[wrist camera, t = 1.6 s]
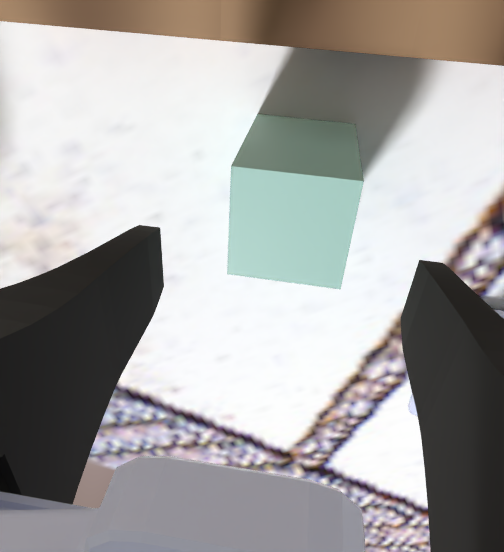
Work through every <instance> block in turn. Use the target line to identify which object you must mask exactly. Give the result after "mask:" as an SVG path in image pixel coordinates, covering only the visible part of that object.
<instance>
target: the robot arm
mask: <svg viewBox="0 0 504 552" xmlns="http://www.w3.org/2000/svg"><path fill="white" fill-rule="evenodd" d="M163 287H164V282H163V266H162V251H161V235H160V228H158V227H150V226H142V225H139V226H136V227H134V228H132V229H130V230H128V231H126V232H124V233H122V234H121V235H119V236H117V237H115V238H114V239H112V240H110V241H108V242H106V243H104V244H103V245H101V246H99V247H97V248H95V249H94V250H92V251H90V252H88V253H86V254H84V255H82V256H80V257H78V258H76V259H74V260H72V261H70V262H68V263H66V264H64V265H62V266H60V267H58V268H55V269H53V270H51V271H48V272H46V273H44V274H41V275H39V276H36V277H33V278H31V279H28V280H26V281H23V282H20V283H17V284H14V285H11V286H8V287H4V288H1V289H0V552H365V535H364V523H363V515H362V509H360V508H359V507H358V506H357V505H356V504H355V503H354V502H352V501H351V500H350V499H349V498H348V497H347V496H345V495H344V494H343V493H342V492H341V491H339V490H338V489H336V488H333V487H330V486H327V485H324V484H321V483H318V482H315V481H312V480H309V479H303V478H297V477H291V476H285V475H279V474H273V473H267V472H261V471H255V470H249V469H243V468H237V467H231V466H225V465H219V464H213V463H207V462H201V461H195V460H189V459H183V458H177V457H171V456H141V457H138V458H135V459H133V460H131V461H129V462H127V463H125V464H123V465H121V466H119V467H117V468H116V470H115V473H114V475H113V477H112V480H111V482H110V484H109V487H108V489H107V491H106V494H105V496H104V499H103V501H102V503H101V505H100V508H88V507H83V506H77V505H72V504H73V501H74V498H75V495H76V492H77V488H78V485H79V482H80V479H81V477H82V474H83V471H84V468H85V465H86V462H87V460H88V457H89V454H90V451H91V448H92V445H93V443H94V440H95V437H96V435H97V432H98V429H99V427H100V424H101V421H102V419H103V416H104V414H105V411H106V409H107V406H108V404H109V401H110V399H111V396H112V394H113V391H114V389H115V387H116V384H117V382H118V380H119V378H120V376H121V374H122V372H123V370H124V369H125V367H126V365H127V363H128V361H129V359H130V358H131V356H132V354H133V352H134V350H135V348H136V347H137V345H138V343H139V341H140V339H141V337H142V336H143V334H144V332H145V330H146V328H147V326H148V324H149V322H150V321H151V319H152V317H153V315H154V312H155V310H156V307H157V304H158V302H159V299H160V296H161V293H162V290H163ZM401 333H402V346H403V353H404V358H405V362H406V367H407V371H408V376H409V380H410V384H411V389H412V393H413V394H412V396H411V399H410V401H409V404H408V408H409V412H410V413H411V414H413V415H417V416H418V420H419V425H420V431H421V438H422V447H423V457H424V466H425V477H426V489H427V500H428V515H429V531H430V547H431V552H504V311H501V310H493V309H492V308H491V307H490V306H489V305H488V304H487V303H485V302H484V301H483V300H482V299H481V298H480V297H479V296H478V295H477V294H476V293H475V292H474V291H473V290H472V289H471V288H470V287H468V286H467V285H466V284H465V283H464V282H463V281H462V280H461V279H460V278H459V277H458V276H457V275H456V274H455V273H454V272H453V271H452V270H451V269H449V268H448V267H447V266H446V265H445V264H443V263H439V262H431V261H423V260H419V263H418V266H417V269H416V272H415V276H414V279H413V282H412V285H411V288H410V291H409V294H408V297H407V300H406V303H405V307H404V310H403V313H402V316H401Z"/></svg>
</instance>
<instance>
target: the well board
mask: <svg viewBox="0 0 504 552" xmlns="http://www.w3.org/2000/svg"><path fill="white" fill-rule="evenodd" d="M0 21H7V22H18V23H29V24H41V25H52V26H63V27H74V28H86V29H97V30H108V31H119V32H131V33H142V34H153V35H164V36H176V37H187V38H198V39H209V40H221V41H232V42H243V43H254V44H266V45H277V46H288V47H299V48H311V49H322V50H333V51H344V52H356V53H367V54H378V55H389V56H401V57H412V58H423V59H434V60H446V61H457V62H468V63H479V64H491V65H502V66H504V0H0Z"/></svg>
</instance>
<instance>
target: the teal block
mask: <svg viewBox="0 0 504 552" xmlns="http://www.w3.org/2000/svg"><path fill="white" fill-rule="evenodd" d="M363 182H364V180H363V173H362V166H361V160H360V153H359V146H358V139H357V132H356V126H355V124H351V123H341V122H331V121H322V120H312V119H302V118H292V117H283V116H273V115H263V114H257V116H256V118H255V120H254V122H253V124H252V126H251V128H250V130H249V132H248V134H247V136H246V138H245V140H244V142H243V144H242V146H241V148H240V150H239V152H238V154H237V156H236V158H235V160H234V162H233V164H232V166H231V186H230V213H229V241H228V269H227V274H230V275H238V276H245V277H253V278H260V279H268V280H275V281H283V282H290V283H297V284H305V285H312V286H320V287H327V288H335V289H341V284H342V280H343V275H344V270H345V266H346V261H347V256H348V252H349V247H350V243H351V238H352V233H353V229H354V224H355V219H356V215H357V210H358V205H359V201H360V196H361V191H362V187H363Z"/></svg>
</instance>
